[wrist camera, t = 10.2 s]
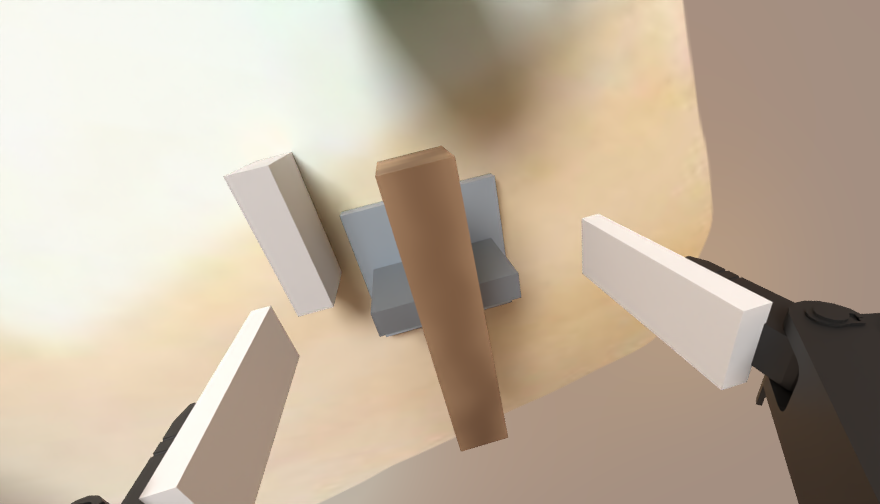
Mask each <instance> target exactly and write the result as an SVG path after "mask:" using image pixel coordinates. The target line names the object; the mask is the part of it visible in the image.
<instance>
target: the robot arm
mask: <svg viewBox="0 0 880 504" xmlns="http://www.w3.org/2000/svg"><path fill="white" fill-rule="evenodd" d="M582 274H584V275H585V276H586V277H587V278H588V279H590V280H591V281H592V282H593V283H594V284H596V285H597V286H598V287H599V288H600V289H602V290H603V291H604V292H605V293H606V294H607V295H609V296H610V297H611V298H612V299H613V300H615V301H616V302H617V303H618V304H619V305H621V306H622V307H623V308H624V309H625V310H627V311H628V312H629V313H630V314H631V315H632V316H634V317H635V318H636V319H637V320H638V321H640V322H641V323H642V324H643V325H644V326H646V327H647V328H648V329H649V330H650V331H652V332H653V333H654V334H655V335H656V336H658V337H659V338H660V339H661V340H663V342H665V343H666V344H667V345H668V346H670V347H671V348H672V349H673V350H674V351H675V352H677V353H678V354H679V355H681V356H682V357H683V358H684V359H685V360H686V361H687V362H688V363H690V364H691V365H692V366H693V367H695V368H696V369H697V370H698V371H699V372H701V373H702V374H703V375H704V376H705V377H706V378H708V379H709V380H710V381H711V382H712V383H714V384H715V385H716V386H717V387H718V388H720V389H721V390H724V389H727V388H730V387H733V386H736V385H739V384H742V383H745V382H747V380H748V377H749V373H750V370H751V367H752V366H753V367H755V368H756V369H758V370H759V371H761V372H762V373H763V374H765V376H764V378H763V381H762V384H761V387H760V389H759V392H758V395H757V398H756V404H757V405H762V403H763V401H764V398H765V397H767V401H768V404H769V407H770V410H771V414H772V417H773V420H774V424H775V427H776V430H777V433H778V437H779V440H780V443H781V446H782V450H783V453H784V457H785V460H786V463H787V466H788V470H789V473H790V476H791V479H792V483H793V486H794V490H795V493H796V496H797V499H798V503H799V504H880V313H873V314H859V313H857V312H855V311H853V310H851V309H849V308H846V307H843V306H839V305H836V304H832V303H827V302H821V301H801V302H797V303H794V302H792V301H790V300H788V299H786V298H784V297H782V296H780V295H777V294H775V293H773V292H771V291H769V290H767V289H765V288H763V287H761V286H759V285H757V284H754V283H753V282H750V281H748V280H746V279H744V278H739V276H738V275H736V274H734V273H732V272H730V271H725V269H724V268H722V267H719V266H717V265H715V264H713V263H711V262H709V261H706V260H702V259H698V258H694V257H691V256H687V257H683V256H681V255H679V254H677V253H675V252H673V251H671V250H669V249H667V248H665V247H663V246H661V245H659V244H657V243H655V242H653V241H651V240H649V239H647V238H645V237H643V236H641V235H639V234H637V233H635V232H634V231H632V230H630V229H628V228H626V227H624V226H622V225H620V224H618V223H616V222H614V221H612V220H610V219H608V218H606V217H604V216H602V215H600V214H596V215H593V216H589V217H585V218H582ZM298 359H299V354H298V352H297V351H296V349H295V347H294V345H293V344H292V342H291V340H290V338H289V337H288V335H287V333H286V331H285V330H284V328H283V326H282V324H281V323H280V321H279V319H278V317H277V316H276V314H275V312H274V310H273V309H272V307H271V306H268V307H264V308H261V309H257V310H254V311H251V313H250V314H249V316H248V318H247V319H246V321H245V323H244V324H243V326H242V328H241V329H240V331H239V333H238V334H237V336H236V338H235V339H234V341H233V343H232V344H231V346H230V348H229V349H228V351H227V353H226V354H225V356H224V358H223V359H222V361H221V363H220V364H219V366H218V368H217V369H216V371H215V373H214V374H213V376H212V378H211V379H210V381H209V383H208V384H207V386H206V388H205V389H204V391H203V393H202V394H201V396H200V398H199V399H198V401H197V402H196V403H192V404H190V405H189V406H188V407H187V408H186V409H185V410H184V411H183V412H182V413H181V414H180V415H179V416H178V417H177V418H176V419H175V420H174V422H173V423H172V425H171V426H170V428H169V430H168V431H167V433H166V434H165V436H164V437H163V442H160V444H159V445H158V447H157V448H156V450H155V452H154V453H153V454H154V456H153V457H151V458H150V459H149V461H148V463H147V464H146V466H145V467H144V469H143V470H142V472H141V474H140V475H139V477H138V478H137V480H136V481H135V483H134V485H133V486H132V488H131V489H130V491H129V492H128V494H127V496H126V497H125V499H124V500H123V502H122V503H121V504H255V500H256V497H257V494H258V490H259V487H260V484H261V481H262V477H263V474H264V471H265V468H266V464H267V461H268V458H269V454H270V451H271V448H272V445H273V441H274V438H275V435H276V432H277V428H278V425H279V422H280V418H281V415H282V412H283V409H284V405H285V402H286V399H287V395H288V392H289V389H290V386H291V382H292V379H293V376H294V373H295V369H296V366H297V363H298ZM71 504H109V503H108V502H106V501H105V500H104V499H102V498H101V497H100V496H87V497H84V498H82V499H79V500H77V501H74V502H73V503H71Z"/></svg>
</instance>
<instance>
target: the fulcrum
mask: <svg viewBox="0 0 880 504" xmlns="http://www.w3.org/2000/svg"><path fill="white" fill-rule="evenodd" d="M460 187H461V192H462V197H463V202H464V208H465V213H466V218H467V223H468V229H469V234H470V239H471V245H472V250H473V255H474V260H475V266H476V271H477V276H478V281H479V287H480V292H481V297H482V303H483V308H484V310H485V309H488V308H492V307H496V306H499V305H503V304H506V303H510V302H512V300H514V299H517V298H521V291H520V283H519V275H518V272H517V271H516V269H515V268H514V267H513V266H512V264H511V263H510V262H509V260H508V259H507V258H506V255H505V248H504V241H503V233H502V226H501V219H500V212H499V204H498V197H497V190H496V183H495V176H494V175H492V174H491V173H490V174H486V175H482V176H478V177H474V178H471V179H467V180H463V181H460ZM340 218H341V221H342V224H343V226H344V229H345V231H346V234H347V236H348V239H349V242H350V244H351V247H352V249H353V252H354V255H355V257H356V260H357V262H358V265H359V267H360V270H361V273H362V275H363V278H364V280H365V283H366V286H367V288H368V291H369V293H370V296H371V299H372V301H371V316H372V318H373V321H374V323H375V326H376V328H377V331H378V333H379V336H380V337H381V336H384V335H386V337H388V336H392V335H395V334H399V333H402V332H406V331H410V330H413V329H417V328H420V327H422V325H421V322H420V318H419V315H418V312H417V309H416V306H415V302H414V299H413V296H412V293H411V290H410V286H409V283H408V280H407V277H406V273H405V270H404V267H403V264H402V261H401V257H400V254H399V251H398V248H397V245H396V241H395V238H394V235H393V232H392V228H391V225H390V222H389V219H388V216H387V212H386V209H385V206H384V203H383V201H382V202H378V203H374V204H370V205H367V206H363V207H359V208H355V209H351V210H347V211H343V212H341V214H340Z"/></svg>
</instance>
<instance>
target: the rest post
mask: <svg viewBox="0 0 880 504" xmlns="http://www.w3.org/2000/svg"><path fill="white" fill-rule="evenodd" d="M224 179H225V181H226V182H227V184H228V186H229V188H230V190H231V192H232V194H233V195H234V197H235V199H236V201H237V203H238V205H239V207H240V209H241V210H242V212H243V214H244V216H245V218H246V220H247V222H248V224H249V225H250V227H251V229H252V231H253V233H254V235H255V237H256V239H257V240H258V242H259V244H260V246H261V248H262V250H263V252H264V254H265V255H266V257H267V259H268V261H269V263H270V265H271V267H272V269H273V270H274V272H275V274H276V276H277V278H278V280H279V282H280V284H281V285H282V287H283V289H284V291H285V293H286V295H287V297H288V299H289V300H290V302H291V304H292V306H293V308H294V310H295V312H296V314H297V315H298V317H299V316H302V315H306V314H310V313H313V312H317V311H321V310H324V309H328V308H332V307H334V303H335V298H336V294H337V290H338V286H339V282H340V278H341V274H342V271H341V269H340V267H339V264H338V262H337V260H336V257H335V255H334V252H333V250H332V248H331V245H330V243H329V240H328V238H327V236H326V233H325V231H324V229H323V226H322V224H321V221H320V219H319V217H318V214H317V212H316V209H315V207H314V205H313V202H312V200H311V198H310V195H309V193H308V190H307V188H306V186H305V183H304V181H303V178H302V176H301V174H300V171H299V169H298V167H297V164H296V162H295V159H294V157H293V155H292V152H290V153H286V154H282V155H278V156H274V157H270V158H266V159H262V160H258V161H255V162H253V163H251V164H249V165H246V166H244V167H242V168H240V169H238V170H236V171H234V172H232V173H230V174H228V175H226V176H224Z"/></svg>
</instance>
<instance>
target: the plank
mask: <svg viewBox="0 0 880 504" xmlns="http://www.w3.org/2000/svg"><path fill="white" fill-rule="evenodd" d="M375 177H376V180H377V183H378V187H379V190H380V193H381V196H382V199H383V203H384V206H385V209H386V212H387V216H388V219H389V222H390V225H391V228H392V232H393V235H394V238H395V241H396V245H397V248H398V251H399V254H400V257H401V261H402V264H403V267H404V270H405V273H406V277H407V280H408V283H409V286H410V290H411V293H412V296H413V299H414V302H415V306H416V309H417V312H418V315H419V318H420V322H421V325H422V328H423V331H424V335H425V338H426V341H427V344H428V347H429V351H430V354H431V357H432V360H433V364H434V367H435V370H436V373H437V376H438V380H439V383H440V386H441V389H442V392H443V396H444V399H445V402H446V405H447V409H448V412H449V415H450V418H451V421H452V425H453V428H454V431H455V434H456V437H457V441H458V444H459V447H460V450H461V451H465V450H468V449H471V448H475V447H478V446H481V445H485V444H488V443H491V442H495V441H498V440H501V439H505V438H508V434H507V429H506V424H505V418H504V413H503V408H502V403H501V397H500V392H499V387H498V382H497V376H496V371H495V366H494V361H493V355H492V350H491V345H490V339H489V334H488V329H487V324H486V318H485V313H484V308H483V303H482V297H481V292H480V287H479V281H478V276H477V271H476V266H475V260H474V255H473V250H472V245H471V239H470V234H469V229H468V223H467V218H466V213H465V208H464V202H463V197H462V192H461V187H460V181H459V176H458V171H457V165H456V160H455V156H454V155H452V154H451V153H450V152H449V151H448V150H446V149H445V148H444V147H443V146H439V147H435V148H431V149H427V150H423V151H419V152H415V153H411V154H407V155H403V156H399V157H395V158H391V159H387V160H383V161H379V162H377V167H376V175H375Z"/></svg>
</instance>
